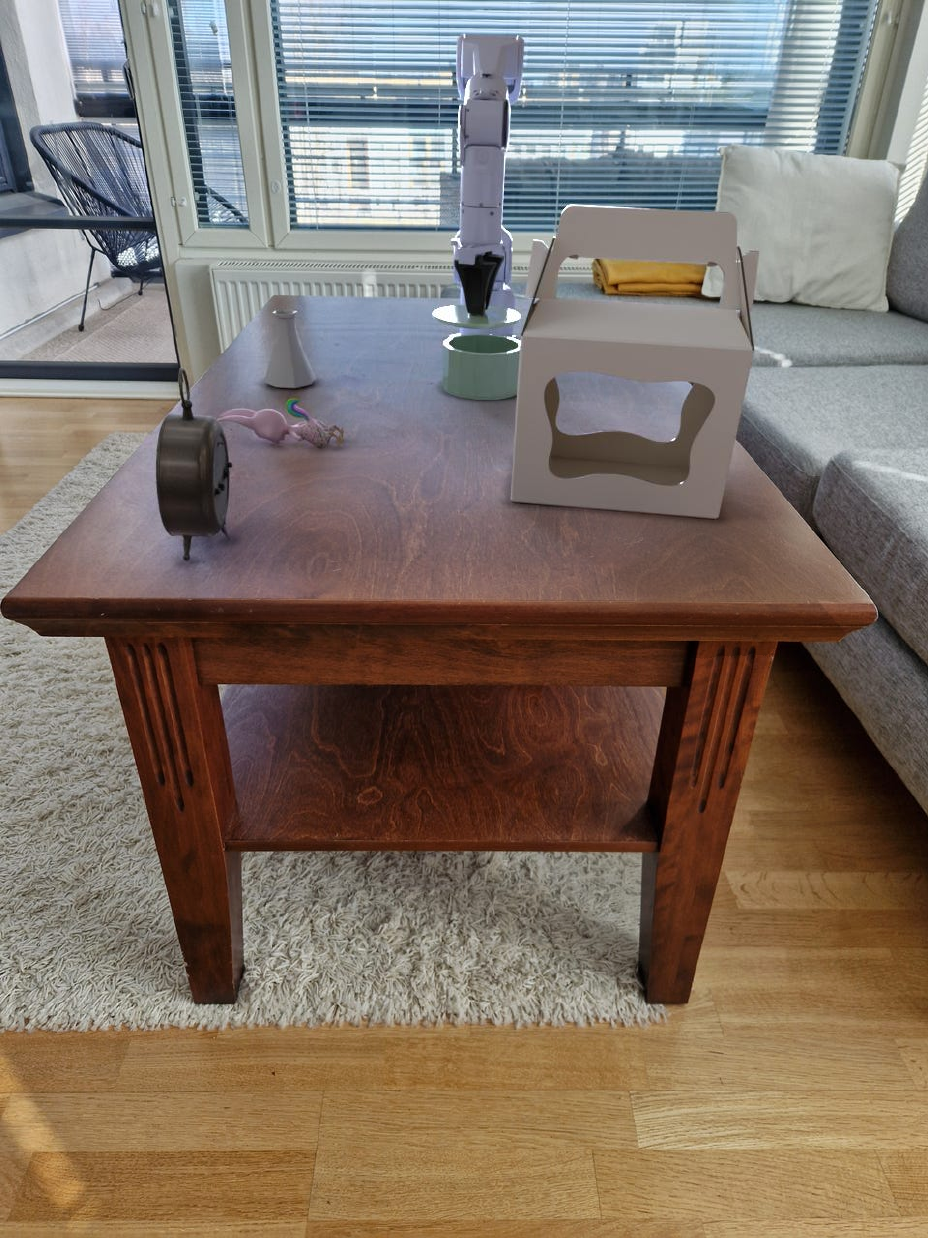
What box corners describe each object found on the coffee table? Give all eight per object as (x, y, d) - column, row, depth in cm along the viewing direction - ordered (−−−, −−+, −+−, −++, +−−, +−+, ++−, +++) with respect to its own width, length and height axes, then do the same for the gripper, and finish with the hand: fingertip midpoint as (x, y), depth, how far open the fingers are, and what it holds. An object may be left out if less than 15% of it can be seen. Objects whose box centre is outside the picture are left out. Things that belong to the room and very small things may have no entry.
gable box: (707, 471, 97) (759, 206, 82) (720, 520, 86) (784, 223, 70) (518, 457, 99) (535, 195, 84) (507, 502, 88) (525, 211, 73)
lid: (476, 308, 126) (477, 277, 124) (538, 323, 119) (540, 290, 116) (414, 319, 118) (414, 286, 116) (476, 337, 111) (478, 301, 109)
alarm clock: (189, 515, 83) (162, 351, 74) (244, 514, 83) (223, 351, 75) (165, 568, 74) (131, 388, 65) (227, 567, 74) (201, 388, 66)
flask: (324, 379, 123) (320, 309, 118) (296, 392, 118) (290, 319, 112) (284, 372, 126) (278, 303, 120) (255, 384, 120) (247, 313, 115)
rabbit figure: (343, 445, 104) (224, 423, 103) (349, 399, 101) (226, 376, 100) (336, 464, 99) (210, 440, 98) (341, 416, 96) (211, 391, 94)
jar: (481, 372, 129) (482, 329, 125) (537, 389, 122) (540, 345, 119) (426, 386, 122) (426, 341, 118) (482, 405, 115) (484, 359, 112)
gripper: (467, 198, 117) (464, 298, 125) (437, 208, 105) (436, 319, 113) (515, 201, 116) (509, 302, 123) (490, 212, 104) (486, 323, 111)
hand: (477, 311), depth 118 cm, fingers closed on lid, 2 cm apart
